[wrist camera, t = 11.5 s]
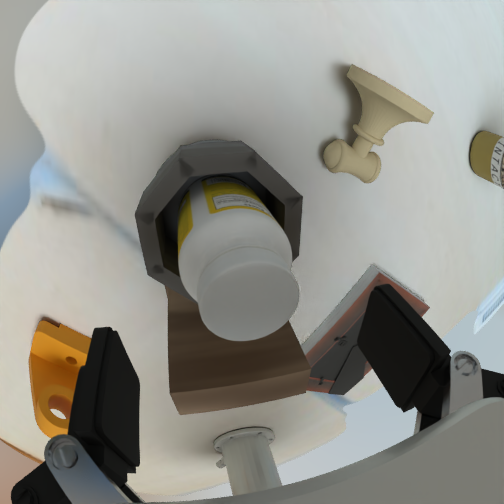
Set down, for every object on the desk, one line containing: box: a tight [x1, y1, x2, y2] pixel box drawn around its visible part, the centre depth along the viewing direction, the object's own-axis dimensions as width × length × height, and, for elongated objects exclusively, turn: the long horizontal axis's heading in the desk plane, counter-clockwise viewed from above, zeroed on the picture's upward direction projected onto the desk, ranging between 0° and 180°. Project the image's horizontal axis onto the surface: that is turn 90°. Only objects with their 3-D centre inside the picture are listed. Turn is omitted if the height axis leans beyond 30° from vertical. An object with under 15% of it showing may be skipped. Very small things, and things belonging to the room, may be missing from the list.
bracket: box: [29, 321, 91, 438], centre depth 25 cm, size 11×7×12 cm, turn 50°
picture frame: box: [301, 265, 430, 395], centre depth 40 cm, size 16×2×22 cm
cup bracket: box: [135, 140, 311, 415], centre depth 20 cm, size 17×10×14 cm, turn 1°
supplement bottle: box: [178, 174, 299, 341], centre depth 15 cm, size 5×5×10 cm
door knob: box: [323, 64, 434, 183], centre depth 22 cm, size 10×8×8 cm
